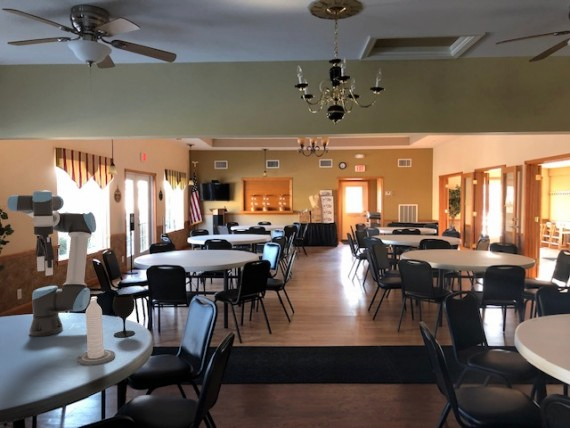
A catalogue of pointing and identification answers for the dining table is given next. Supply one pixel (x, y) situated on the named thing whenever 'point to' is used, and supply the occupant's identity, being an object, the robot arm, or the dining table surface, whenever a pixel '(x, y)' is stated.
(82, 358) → the slate coaster
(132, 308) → the wine glass
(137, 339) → the dining table surface
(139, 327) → the dining table surface
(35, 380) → the dining table surface
